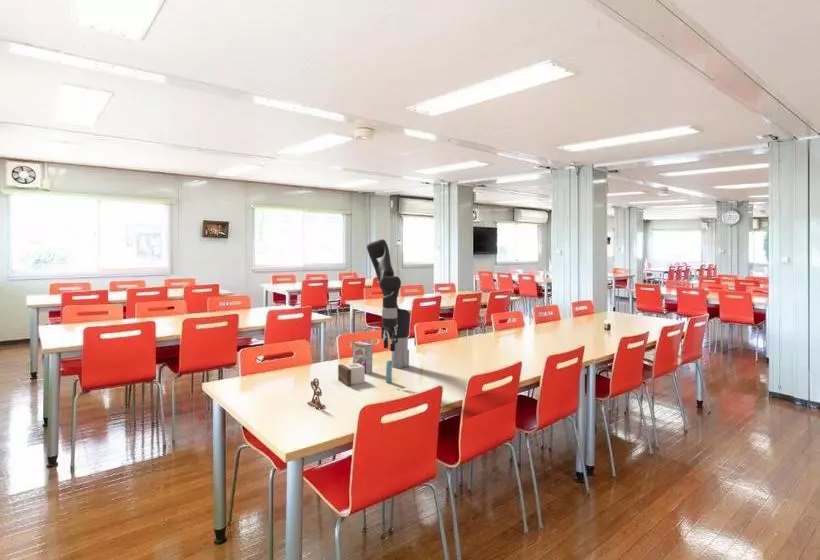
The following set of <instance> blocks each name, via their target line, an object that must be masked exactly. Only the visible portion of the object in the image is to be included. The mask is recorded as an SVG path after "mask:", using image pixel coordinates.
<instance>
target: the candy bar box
mask: <svg viewBox="0 0 820 560" xmlns="http://www.w3.org/2000/svg"><path fill="white" fill-rule="evenodd" d="M355 363H359V364H361V365H362V366H364V367H365V374H369V373H372V372H373V344H371V343H368V342H367V343H366V342H363V341H360V340H359V341H355V342H352V364H355Z"/></svg>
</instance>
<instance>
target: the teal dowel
mask: <svg viewBox="0 0 820 560" xmlns="http://www.w3.org/2000/svg"><path fill="white" fill-rule="evenodd" d="M385 364H386V365H385V367H386V368H385V383H386V384H392V382H393V381H392V378H393V376H392V375H393V374H392V373H393V367H392V360H386V361H385Z"/></svg>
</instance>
